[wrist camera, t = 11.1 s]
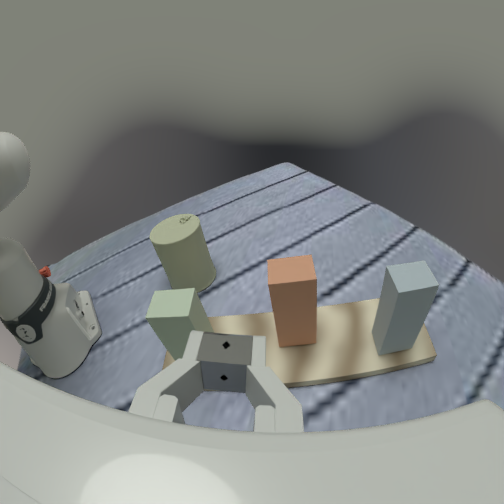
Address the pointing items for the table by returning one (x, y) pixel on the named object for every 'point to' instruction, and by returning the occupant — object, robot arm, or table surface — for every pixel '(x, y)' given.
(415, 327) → the slate key
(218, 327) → the wooden board
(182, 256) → the can
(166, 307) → the sage key
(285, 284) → the terracotta key
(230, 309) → the table surface
